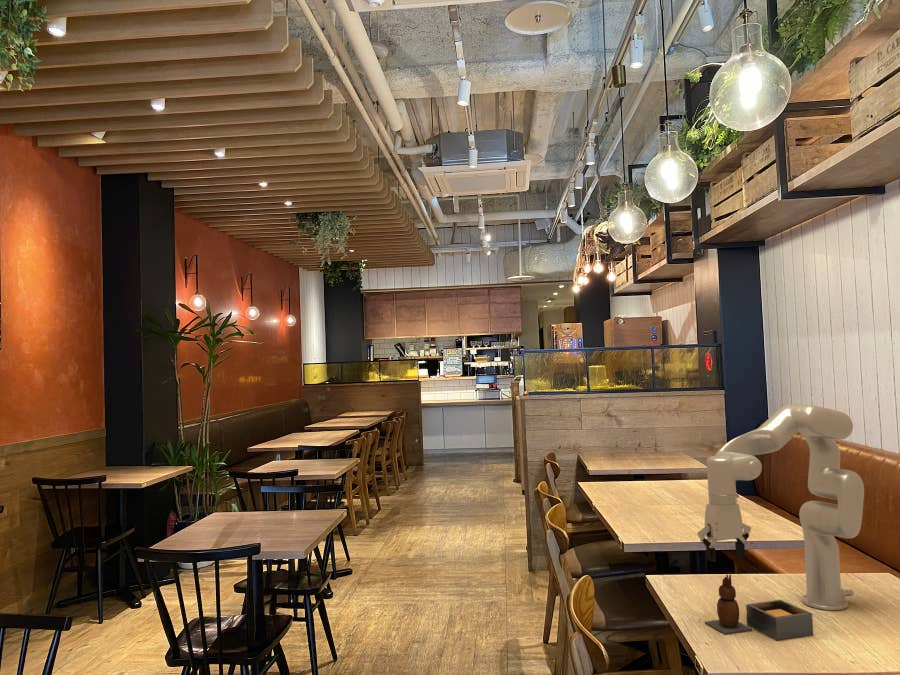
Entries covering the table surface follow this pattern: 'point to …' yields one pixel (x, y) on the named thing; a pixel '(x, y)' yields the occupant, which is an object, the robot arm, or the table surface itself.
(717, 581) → the table surface
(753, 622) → the box
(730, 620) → the wooden figurine
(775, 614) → the button
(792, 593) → the table surface
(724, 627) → the mat
